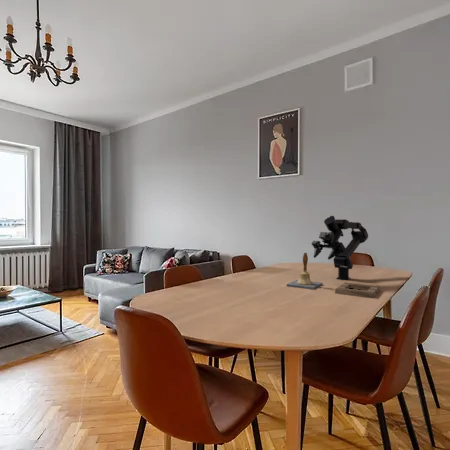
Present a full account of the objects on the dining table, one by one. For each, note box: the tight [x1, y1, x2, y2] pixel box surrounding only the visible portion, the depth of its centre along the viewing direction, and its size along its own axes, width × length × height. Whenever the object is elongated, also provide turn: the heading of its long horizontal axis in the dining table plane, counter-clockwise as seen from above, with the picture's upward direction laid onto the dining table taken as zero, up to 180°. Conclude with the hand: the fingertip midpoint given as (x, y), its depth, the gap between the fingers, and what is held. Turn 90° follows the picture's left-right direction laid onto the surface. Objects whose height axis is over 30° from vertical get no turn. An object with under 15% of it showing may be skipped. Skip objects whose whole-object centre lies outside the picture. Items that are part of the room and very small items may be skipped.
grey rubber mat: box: [286, 279, 323, 290], centre depth 162 cm, size 14×14×1 cm
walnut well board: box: [334, 282, 380, 299], centre depth 147 cm, size 18×16×2 cm
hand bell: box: [297, 252, 314, 285], centre depth 162 cm, size 8×8×16 cm
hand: (321, 258), depth 167 cm, fingers open, 9 cm apart
